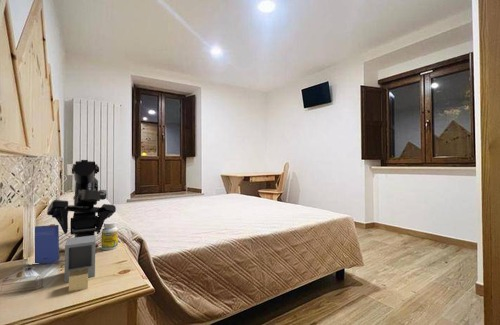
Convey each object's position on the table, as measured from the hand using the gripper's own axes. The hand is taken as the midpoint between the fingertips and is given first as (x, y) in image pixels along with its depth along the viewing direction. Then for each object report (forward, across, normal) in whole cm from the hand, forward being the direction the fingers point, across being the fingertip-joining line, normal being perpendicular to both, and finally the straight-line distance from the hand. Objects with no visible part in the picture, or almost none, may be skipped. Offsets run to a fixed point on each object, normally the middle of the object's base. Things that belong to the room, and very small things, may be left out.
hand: (82, 233), depth 80 cm
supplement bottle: (+1, +13, +11) cm, 17 cm away
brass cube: (+18, -3, -8) cm, 20 cm away
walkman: (+4, -6, +14) cm, 16 cm away
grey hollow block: (+13, -1, -2) cm, 13 cm away
